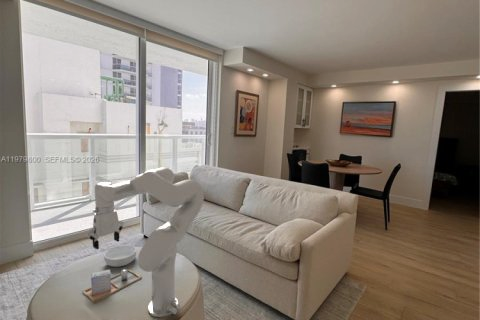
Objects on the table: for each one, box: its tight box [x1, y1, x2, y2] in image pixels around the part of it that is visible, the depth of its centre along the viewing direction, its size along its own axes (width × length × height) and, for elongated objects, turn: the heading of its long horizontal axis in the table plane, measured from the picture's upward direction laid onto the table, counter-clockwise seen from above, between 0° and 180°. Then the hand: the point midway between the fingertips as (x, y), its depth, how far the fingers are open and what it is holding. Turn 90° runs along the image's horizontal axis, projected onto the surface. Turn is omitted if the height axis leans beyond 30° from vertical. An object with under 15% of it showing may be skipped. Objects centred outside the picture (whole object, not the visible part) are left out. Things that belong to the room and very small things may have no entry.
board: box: [82, 269, 143, 304], centre depth 122 cm, size 13×23×2 cm, turn 145°
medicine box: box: [90, 269, 112, 295], centre depth 117 cm, size 8×4×9 cm, turn 120°
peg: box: [120, 268, 128, 281], centre depth 126 cm, size 3×3×5 cm
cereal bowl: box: [103, 245, 137, 268], centre depth 143 cm, size 17×17×7 cm
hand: (106, 244), depth 117 cm, fingers open, 9 cm apart
